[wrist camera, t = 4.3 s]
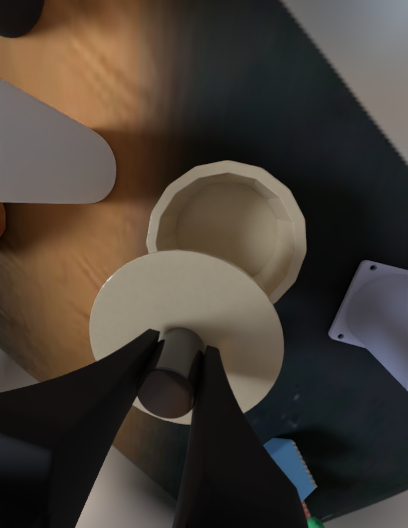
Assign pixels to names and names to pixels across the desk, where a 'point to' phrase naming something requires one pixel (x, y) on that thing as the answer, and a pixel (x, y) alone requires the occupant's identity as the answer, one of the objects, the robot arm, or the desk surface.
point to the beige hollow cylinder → (234, 222)
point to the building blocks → (294, 471)
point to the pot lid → (189, 328)
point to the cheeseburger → (2, 218)
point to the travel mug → (18, 16)
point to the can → (49, 154)
